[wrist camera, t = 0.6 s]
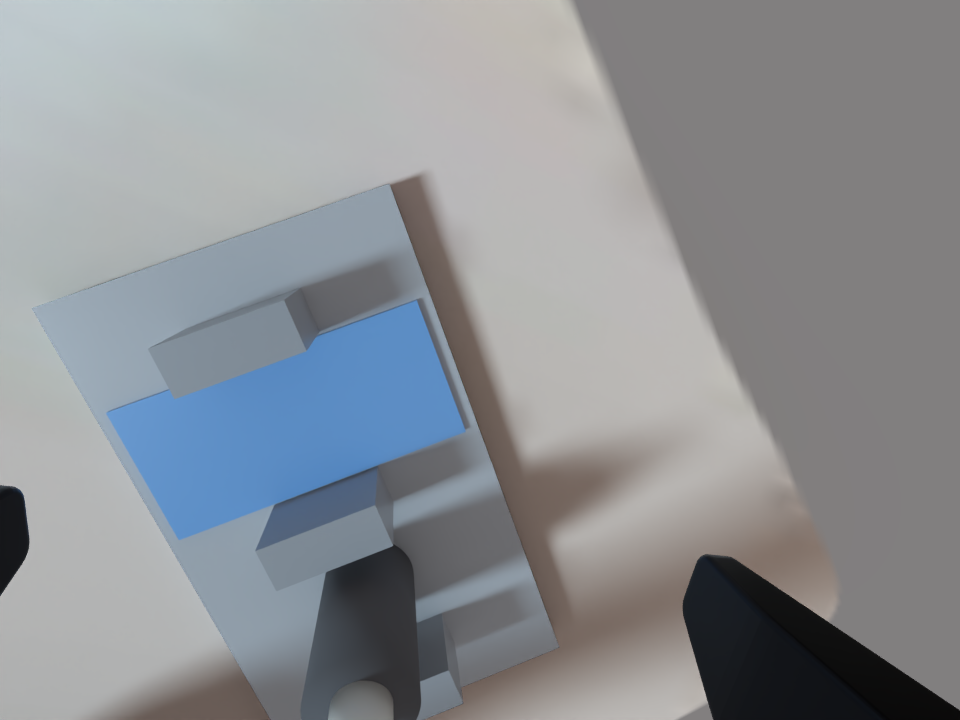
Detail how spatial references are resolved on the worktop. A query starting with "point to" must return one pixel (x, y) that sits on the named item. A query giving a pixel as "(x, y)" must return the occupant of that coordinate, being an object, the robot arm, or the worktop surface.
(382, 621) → the knob
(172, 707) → the worktop surface
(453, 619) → the lever switch plate
